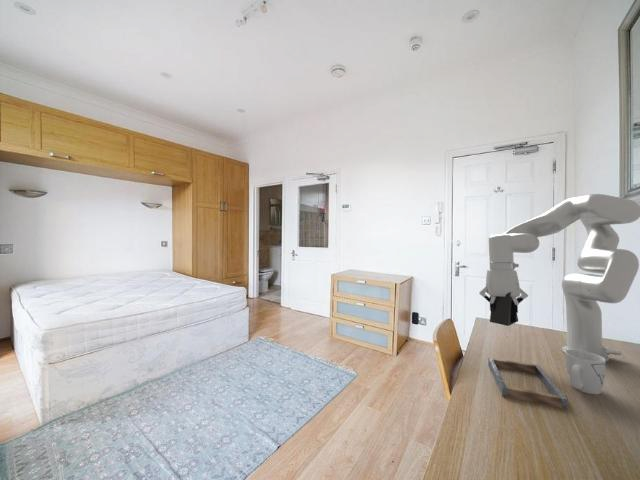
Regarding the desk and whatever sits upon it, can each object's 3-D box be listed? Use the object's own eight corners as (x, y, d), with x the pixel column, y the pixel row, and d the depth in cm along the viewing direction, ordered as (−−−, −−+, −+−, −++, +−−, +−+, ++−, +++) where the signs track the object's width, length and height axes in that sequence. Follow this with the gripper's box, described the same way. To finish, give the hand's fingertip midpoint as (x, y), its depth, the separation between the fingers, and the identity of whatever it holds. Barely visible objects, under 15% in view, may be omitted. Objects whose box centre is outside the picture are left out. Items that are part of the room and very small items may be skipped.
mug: (596, 403, 69) (595, 367, 69) (556, 388, 76) (555, 355, 76) (611, 391, 74) (610, 357, 74) (572, 378, 82) (571, 347, 82)
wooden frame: (538, 372, 85) (538, 365, 85) (567, 408, 67) (567, 399, 67) (488, 364, 91) (488, 357, 91) (502, 396, 73) (502, 387, 73)
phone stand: (507, 326, 91) (506, 293, 91) (489, 322, 96) (488, 290, 96) (518, 321, 96) (517, 289, 96) (500, 317, 101) (499, 287, 101)
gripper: (526, 265, 96) (528, 313, 96) (474, 265, 103) (475, 309, 103) (533, 267, 89) (535, 318, 89) (476, 267, 96) (478, 314, 96)
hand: (503, 313), depth 96 cm, fingers closed on phone stand, 5 cm apart
